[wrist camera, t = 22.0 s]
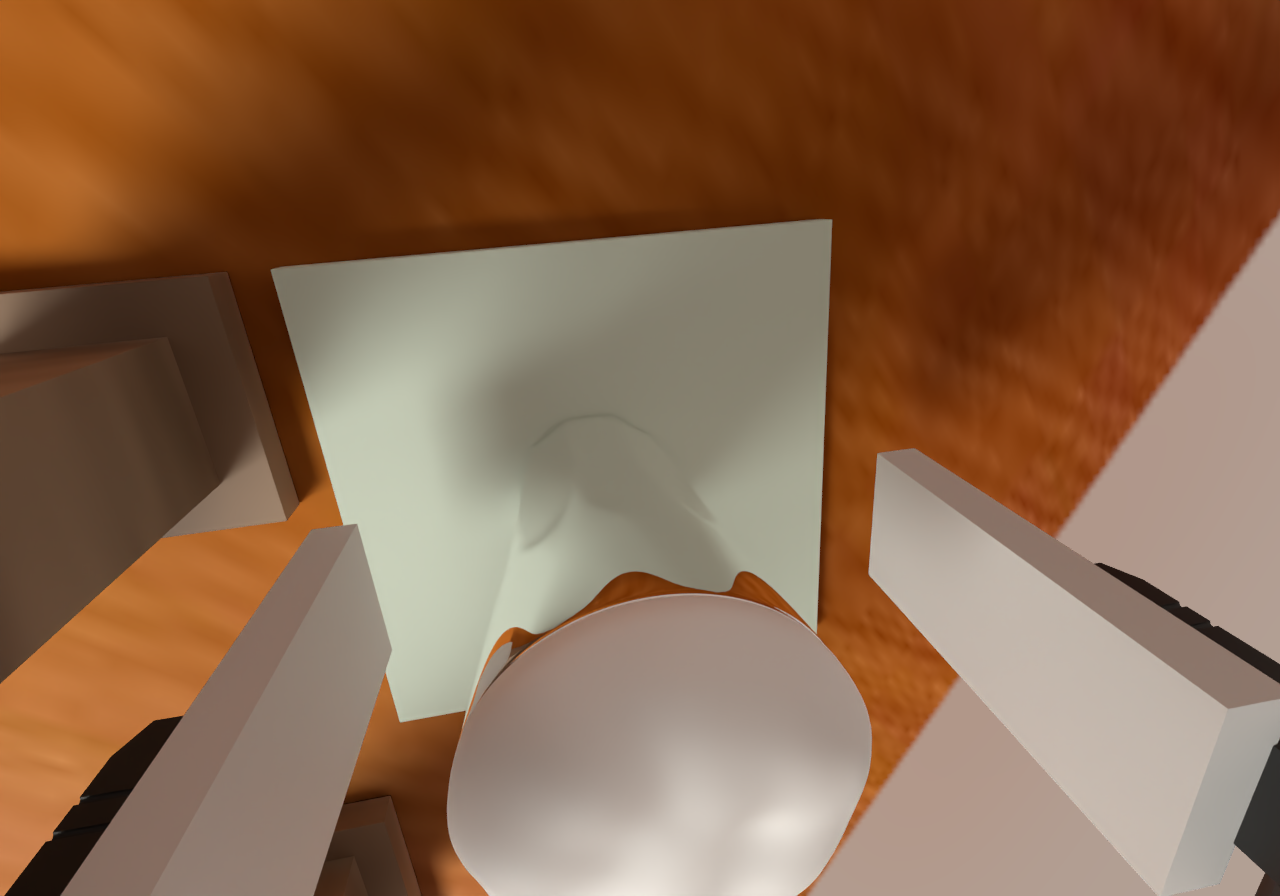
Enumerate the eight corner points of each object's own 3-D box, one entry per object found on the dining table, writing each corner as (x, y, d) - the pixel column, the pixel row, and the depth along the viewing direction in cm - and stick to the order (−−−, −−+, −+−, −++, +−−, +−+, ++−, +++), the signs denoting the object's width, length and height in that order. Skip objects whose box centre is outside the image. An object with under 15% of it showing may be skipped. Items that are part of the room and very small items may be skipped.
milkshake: (467, 583, 15) (366, 1233, 5) (513, 363, 13) (478, 753, 4) (652, 607, 16) (831, 1179, 6) (716, 407, 14) (1077, 794, 5)
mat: (404, 704, 16) (400, 722, 16) (282, 266, 12) (270, 269, 12) (807, 633, 18) (815, 647, 17) (819, 218, 13) (832, 219, 13)
